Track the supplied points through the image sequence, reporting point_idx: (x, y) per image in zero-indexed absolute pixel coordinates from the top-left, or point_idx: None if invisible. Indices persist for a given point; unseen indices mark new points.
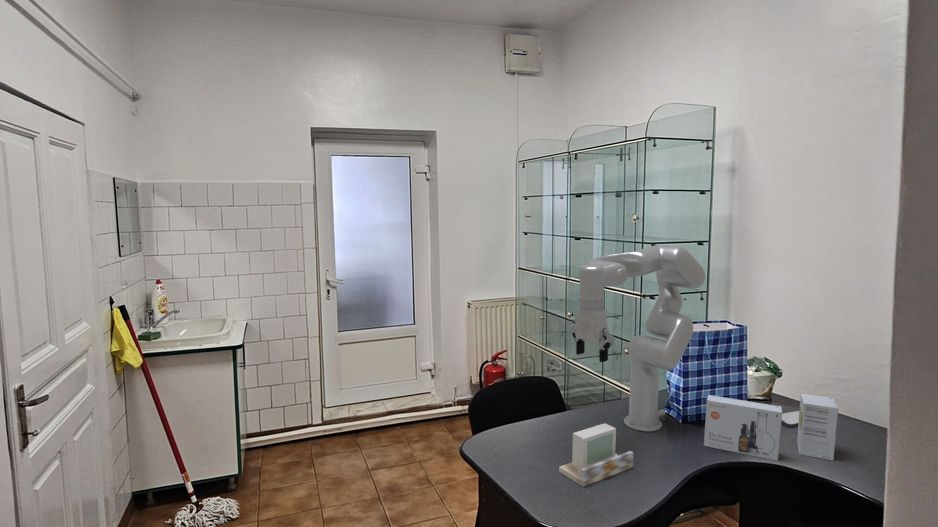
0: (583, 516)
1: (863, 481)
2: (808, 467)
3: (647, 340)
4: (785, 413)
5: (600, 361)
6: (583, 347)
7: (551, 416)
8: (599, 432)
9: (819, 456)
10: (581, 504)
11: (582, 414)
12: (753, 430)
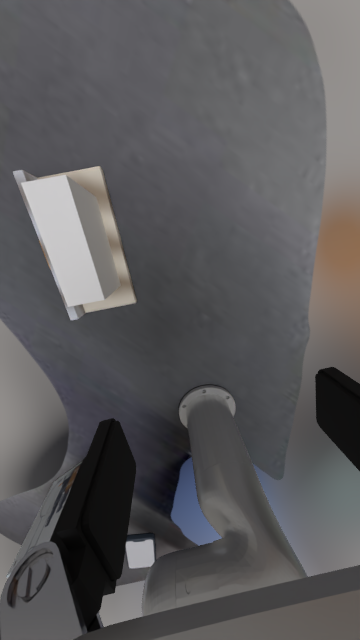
0: None
1: None
2: (30, 496)
3: None
4: (153, 553)
5: (102, 421)
6: (350, 451)
7: (308, 293)
8: (54, 253)
9: None
10: None
11: (284, 347)
12: (54, 508)
